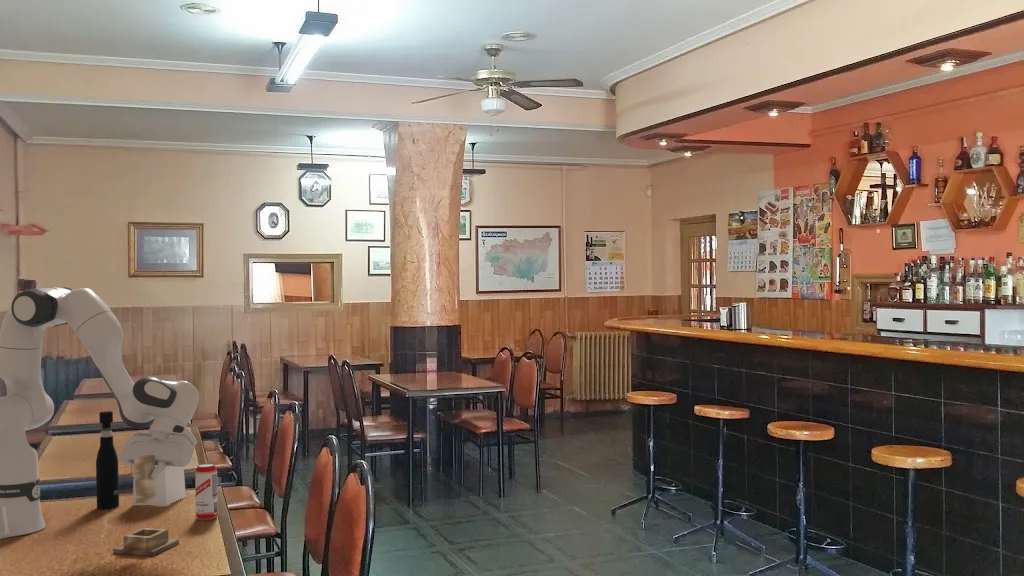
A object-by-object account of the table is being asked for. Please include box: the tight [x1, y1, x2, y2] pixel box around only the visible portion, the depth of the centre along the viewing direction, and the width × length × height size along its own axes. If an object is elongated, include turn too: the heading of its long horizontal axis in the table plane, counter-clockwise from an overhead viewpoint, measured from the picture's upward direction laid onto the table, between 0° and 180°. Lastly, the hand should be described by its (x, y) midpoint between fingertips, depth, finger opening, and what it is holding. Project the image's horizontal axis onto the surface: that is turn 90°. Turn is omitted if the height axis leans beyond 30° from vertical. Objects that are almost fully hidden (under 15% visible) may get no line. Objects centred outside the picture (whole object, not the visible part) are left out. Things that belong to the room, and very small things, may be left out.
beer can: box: [194, 462, 219, 521], centre depth 271 cm, size 6×6×16 cm
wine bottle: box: [95, 410, 120, 510], centre depth 285 cm, size 6×6×30 cm
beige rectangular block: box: [135, 455, 156, 503], centre depth 241 cm, size 4×4×12 cm
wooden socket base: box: [112, 527, 180, 557], centre depth 241 cm, size 12×11×4 cm
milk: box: [132, 426, 187, 507], centre depth 292 cm, size 12×12×26 cm
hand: (143, 477), depth 240 cm, fingers closed on beige rectangular block, 3 cm apart
